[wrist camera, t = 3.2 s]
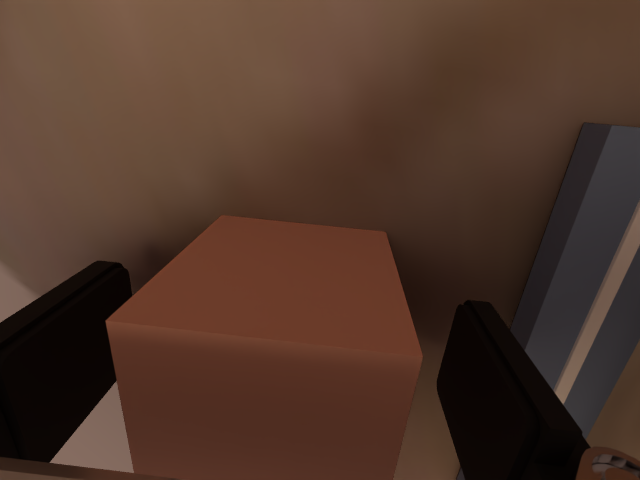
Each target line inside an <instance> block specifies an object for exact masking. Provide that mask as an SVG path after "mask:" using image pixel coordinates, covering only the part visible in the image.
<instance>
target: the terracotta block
mask: <svg viewBox="0 0 640 480" xmlns="http://www.w3.org/2000/svg"><path fill="white" fill-rule="evenodd" d="M106 326H107V331H108V337H109V342H110V347H111V353H112V358H113V363H114V368H115V374H116V379H117V384H118V390H119V395H120V400H121V406H122V411H123V416H124V421H125V426H126V432H127V438H128V443H129V448H130V453H131V459H132V464H133V469H134V473H136V474H144V475H152V476H160V477H168V478H176V479H184V480H393V477H394V473H395V469H396V465H397V461H398V457H399V453H400V449H401V445H402V440H403V436H404V432H405V428H406V424H407V420H408V416H409V412H410V408H411V404H412V400H413V396H414V392H415V388H416V384H417V380H418V376H419V372H420V368H421V364H422V360H423V355H422V351H421V348H420V345H419V341H418V338H417V335H416V331H415V328H414V325H413V321H412V318H411V315H410V311H409V308H408V305H407V301H406V298H405V295H404V291H403V288H402V285H401V281H400V278H399V274H398V271H397V268H396V264H395V261H394V258H393V254H392V251H391V248H390V244H389V241H388V238H387V234H386V232H383V231H374V230H364V229H354V228H344V227H334V226H324V225H314V224H305V223H295V222H285V221H275V220H265V219H255V218H246V217H236V216H226V215H221V216H220V217H219V218H218V219H217V220H216V221H215V222H213V223H212V224H211V225H210V226H209V227H208V228H207V229H206V230H205V231H204V232H202V233H201V234H200V235H199V236H198V237H197V238H196V239H195V240H194V241H193V242H191V243H190V244H189V245H188V246H187V247H186V248H185V249H184V250H183V251H182V252H180V253H179V254H178V255H177V256H176V257H175V258H174V259H173V260H172V261H171V262H169V263H168V264H167V265H166V266H165V267H164V268H163V269H162V270H161V271H160V272H158V273H157V274H156V275H155V276H154V277H153V278H152V279H151V280H150V281H149V282H147V283H146V284H145V285H144V286H143V287H142V288H141V289H140V290H139V291H138V292H136V293H135V294H134V295H133V296H132V297H131V298H130V299H129V300H128V301H127V302H125V303H124V304H123V305H122V306H121V307H120V308H119V309H118V310H117V311H116V312H114V313H113V314H112V315H111V316H110V317H109V318H108V319H107V320H106Z"/></svg>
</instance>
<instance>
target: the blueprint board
mask: <svg viewBox="0 0 640 480" xmlns="http://www.w3.org/2000/svg"><path fill="white" fill-rule="evenodd" d="M510 331H511V332H512V334H513V335H514V337H515V338H516V339H517V341H518V342H519V344H520V345H521V346H522V348H523V349H524V351H525V352H526V353H527V355H528V356H529V358H530V359H531V360H532V362H533V363H534V365H535V366H536V367H537V369H538V370H539V372H540V373H541V374H542V376H543V377H544V379H545V380H546V381H547V383H548V384H549V386H550V387H551V388H552V390H553V391H554V392H555V394H556V395H557V397H558V398H559V399H560V401H561V402H562V404H563V405H564V406H565V408H566V409H567V411H568V412H569V413H570V415H571V416H572V418H573V419H574V420H575V422H576V423H577V425H578V426H579V427H580V429H581V430H582V432H583V433H582V436H583V437H584V438H585V440H586V438H587V436H588V434H589V433H590V431H591V429H592V427H593V425H594V423H595V421H596V420H597V418H598V416H599V414H600V412H601V410H602V409H603V407H604V405H605V403H606V401H607V399H608V397H609V396H610V394H611V392H612V390H613V388H614V386H615V384H616V383H617V381H618V379H619V377H620V375H621V373H622V372H623V370H624V368H625V366H626V364H627V362H628V360H629V359H630V357H631V355H632V353H633V351H634V349H635V347H636V346H637V344H638V342H639V340H640V128H639V127H628V126H617V125H605V124H594V123H584V124H583V127H582V130H581V132H580V135H579V138H578V141H577V144H576V146H575V149H574V152H573V155H572V158H571V160H570V163H569V166H568V169H567V172H566V174H565V177H564V180H563V183H562V186H561V188H560V191H559V194H558V197H557V200H556V202H555V205H554V208H553V211H552V214H551V216H550V219H549V222H548V225H547V228H546V230H545V233H544V236H543V239H542V242H541V244H540V247H539V250H538V253H537V256H536V258H535V261H534V264H533V267H532V270H531V272H530V275H529V278H528V281H527V284H526V286H525V289H524V292H523V295H522V298H521V300H520V303H519V306H518V309H517V312H516V314H515V317H514V320H513V323H512V326H511V329H510ZM457 480H465V478H464V475H463V472H462V468H461V469H460V471H459V474H458V477H457Z"/></svg>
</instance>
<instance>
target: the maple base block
mask: <svg viewBox="0 0 640 480" xmlns="http://www.w3.org/2000/svg"><path fill="white" fill-rule="evenodd" d="M586 441H587V443H588V444H589V445H590V447H591V448H592V447H594V446H595V447H608V448H611V449H615V450H618V451H621V452H623V453H625V454H627V455H629V456H631V457H634V458H636V459H637V460H639V461H640V340H639V342H638V344H637V346H636V347H635V349H634V351H633V353H632V355H631V357H630V359H629V360H628V362H627V364H626V366H625V368H624V370H623V372H622V373H621V375H620V377H619V379H618V381H617V383H616V384H615V386H614V388H613V390H612V392H611V394H610V396H609V397H608V399H607V401H606V403H605V405H604V407H603V409H602V410H601V412H600V414H599V416H598V418H597V420H596V421H595V423H594V425H593V427H592V429H591V431H590V433H589V434H588V436H587V438H586Z"/></svg>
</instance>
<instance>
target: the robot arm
mask: <svg viewBox="0 0 640 480" xmlns="http://www.w3.org/2000/svg"><path fill="white" fill-rule="evenodd" d="M131 297H132V291H131V285H130V278H129V273H128V270H127V269H125V268H124V267H123V266H122V264H120V263H117V262H107V261H96V262H94V263H92V264H91V265H89V266H88V267H86V268H85V269H83V270H82V271H80V272H78V273H77V274H75V275H74V276H72V277H71V278H69V279H68V280H66V281H64V282H63V283H61V284H60V285H58V286H57V287H55V288H54V289H52V290H50V291H49V292H47V293H46V294H44V295H43V296H41V297H40V298H38V299H36V300H35V301H33V302H32V303H30V304H29V305H27V306H26V307H24V308H22V309H21V310H19V311H18V312H16V313H15V314H13V315H11V316H10V317H8V318H7V319H5V320H4V321H2V322H1V323H0V480H184V479H176V478H168V477H160V476H152V475H144V474H136V473H128V472H120V471H112V470H103V469H95V468H86V467H79V466H70V465H62V464H54V463H49V462H50V461H51V460H52V459H53V458H54V456H55V455H56V454H57V453H58V451H59V450H60V449H61V448H62V447H63V445H64V444H65V443H66V442H67V440H68V439H69V438H70V437H71V436H72V434H73V433H74V432H75V431H76V429H77V428H78V427H79V426H80V424H81V423H82V422H83V421H84V420H85V419H86V417H87V416H88V415H89V414H90V412H91V411H92V410H93V409H94V407H95V406H96V405H97V404H98V403H99V401H100V400H101V399H102V398H103V397H104V395H105V394H106V393H107V392H108V390H109V389H110V388H111V386H112V385H113V384H114V383H115V382H116V381H117V379H116V374H115V368H114V363H113V358H112V353H111V347H110V342H109V337H108V331H107V326H106V320H107V319H108V318H109V317H110V316H111V315H112V314H113V313H114V312H116V311H117V310H118V309H119V308H120V307H121V306H122V305H123V304H124V303H125V302H127V301H128V300H129V299H130V298H131ZM437 392H438V395H439V399H440V402H441V405H442V408H443V411H444V414H445V418H446V421H447V424H448V427H449V430H450V434H451V437H452V440H453V443H454V446H455V449H456V453H457V456H458V459H459V462H460V465H461V468H462V472H463V475H464V478H465V480H640V461H639V460H637V459H636V458H634V457H631V456H629V455H627V454H625V453H623V452H621V451H618V450H615V449H611V448H608V447H595V446H594V447H592V448H591V447H590V445H589V444H588V443H587V441H586V440H585V438H584V437H583V436H582V433H583V432H582V430H581V429H580V427H579V426H578V425H577V423H576V422H575V420H574V419H573V418H572V416H571V415H570V413H569V412H568V411H567V409H566V408H565V406H564V405H563V404H562V402H561V401H560V399H559V398H558V397H557V395H556V394H555V392H554V391H553V390H552V388H551V387H550V386H549V384H548V383H547V381H546V380H545V379H544V377H543V376H542V374H541V373H540V372H539V370H538V369H537V367H536V366H535V365H534V363H533V362H532V360H531V359H530V358H529V356H528V355H527V353H526V352H525V351H524V349H523V348H522V346H521V345H520V344H519V342H518V341H517V339H516V338H515V337H514V335H513V334H512V332H511V331H510V330H509V328H508V327H507V325H506V324H505V323H504V321H503V320H502V318H501V317H500V316H499V314H498V313H497V311H496V310H495V309H494V307H493V306H492V304H490V303H489V302H483V301H473V300H467V301H465V303H464V305H462V304H460V305H458V307H457V309H456V313H455V316H454V320H453V323H452V327H451V331H450V334H449V338H448V342H447V345H446V349H445V352H444V356H443V360H442V363H441V367H440V370H439V374H438V378H437Z"/></svg>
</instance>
